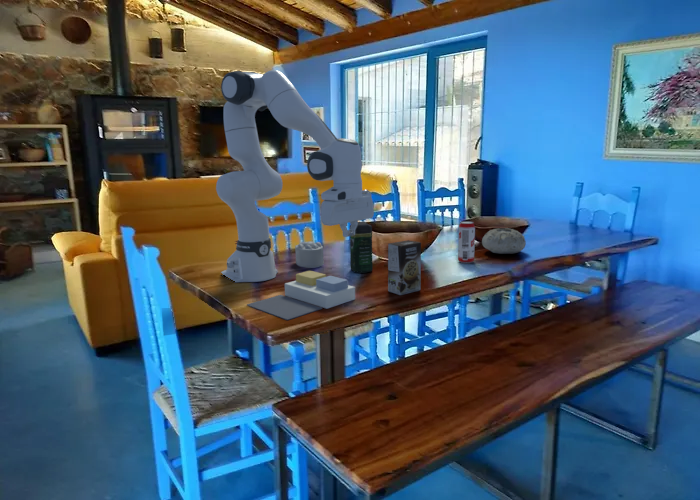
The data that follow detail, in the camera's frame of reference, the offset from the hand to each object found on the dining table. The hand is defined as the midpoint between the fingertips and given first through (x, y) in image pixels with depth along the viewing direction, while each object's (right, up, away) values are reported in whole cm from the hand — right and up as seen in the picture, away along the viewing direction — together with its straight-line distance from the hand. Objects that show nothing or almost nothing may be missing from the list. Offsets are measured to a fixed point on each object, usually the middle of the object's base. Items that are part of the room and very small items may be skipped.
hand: (349, 235), depth 161 cm
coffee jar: (+5, -12, +33) cm, 36 cm away
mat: (-20, -22, -7) cm, 30 cm away
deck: (-9, -20, +1) cm, 22 cm away
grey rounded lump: (+65, -6, +56) cm, 87 cm away
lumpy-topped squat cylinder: (-16, -10, +45) cm, 49 cm away
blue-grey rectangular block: (-5, -15, -2) cm, 16 cm away
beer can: (+46, -9, +42) cm, 63 cm away
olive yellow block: (-12, -14, +4) cm, 19 cm away
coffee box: (+18, -18, +6) cm, 26 cm away
